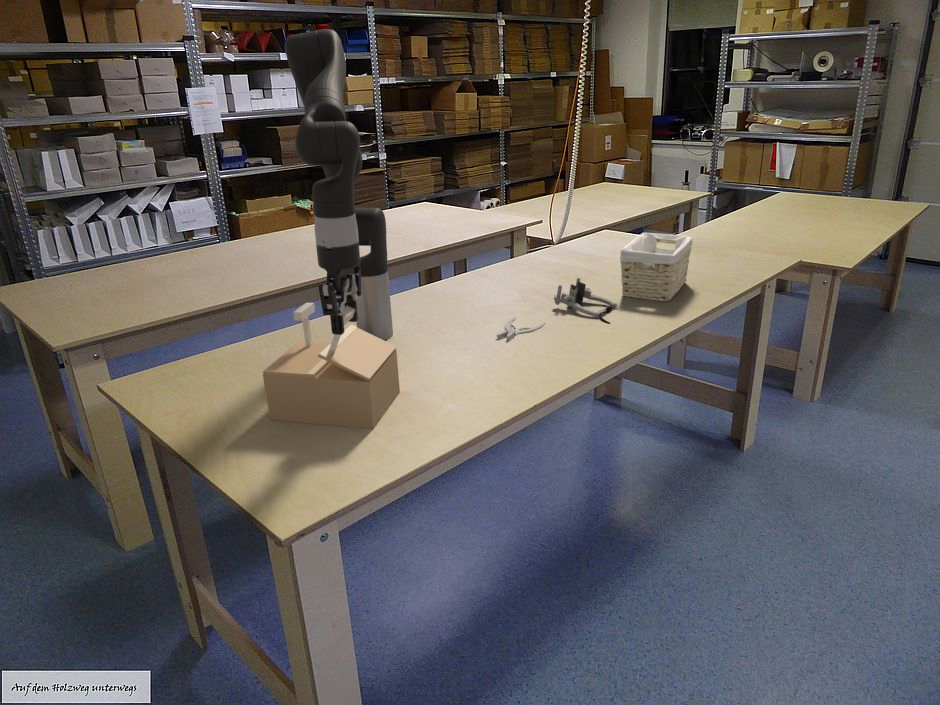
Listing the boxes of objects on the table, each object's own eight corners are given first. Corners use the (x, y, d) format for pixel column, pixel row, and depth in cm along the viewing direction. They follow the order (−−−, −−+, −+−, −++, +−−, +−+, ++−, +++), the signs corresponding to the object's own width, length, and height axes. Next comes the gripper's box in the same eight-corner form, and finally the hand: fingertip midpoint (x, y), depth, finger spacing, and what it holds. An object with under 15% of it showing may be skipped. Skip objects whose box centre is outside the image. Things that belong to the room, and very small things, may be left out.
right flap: (349, 326, 139) (362, 289, 135) (395, 348, 138) (410, 311, 134) (317, 356, 125) (331, 315, 120) (368, 381, 124) (384, 340, 120)
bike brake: (548, 306, 188) (608, 331, 177) (551, 284, 185) (613, 308, 174) (575, 295, 198) (633, 318, 186) (579, 273, 194) (638, 296, 183)
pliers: (545, 320, 177) (519, 338, 165) (545, 325, 177) (519, 344, 166) (513, 314, 182) (485, 332, 170) (513, 319, 182) (485, 338, 171)
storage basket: (670, 305, 189) (675, 254, 183) (615, 297, 196) (618, 248, 190) (690, 282, 207) (694, 235, 202) (639, 276, 215) (642, 231, 209)
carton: (306, 384, 148) (294, 302, 140) (400, 391, 143) (393, 306, 135) (270, 419, 133) (255, 330, 125) (373, 428, 128) (364, 336, 120)
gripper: (334, 229, 125) (341, 313, 132) (299, 248, 112) (310, 340, 119) (371, 231, 124) (377, 315, 130) (340, 251, 111) (349, 343, 117)
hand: (345, 327), depth 125 cm, fingers closed on right flap, 6 cm apart
